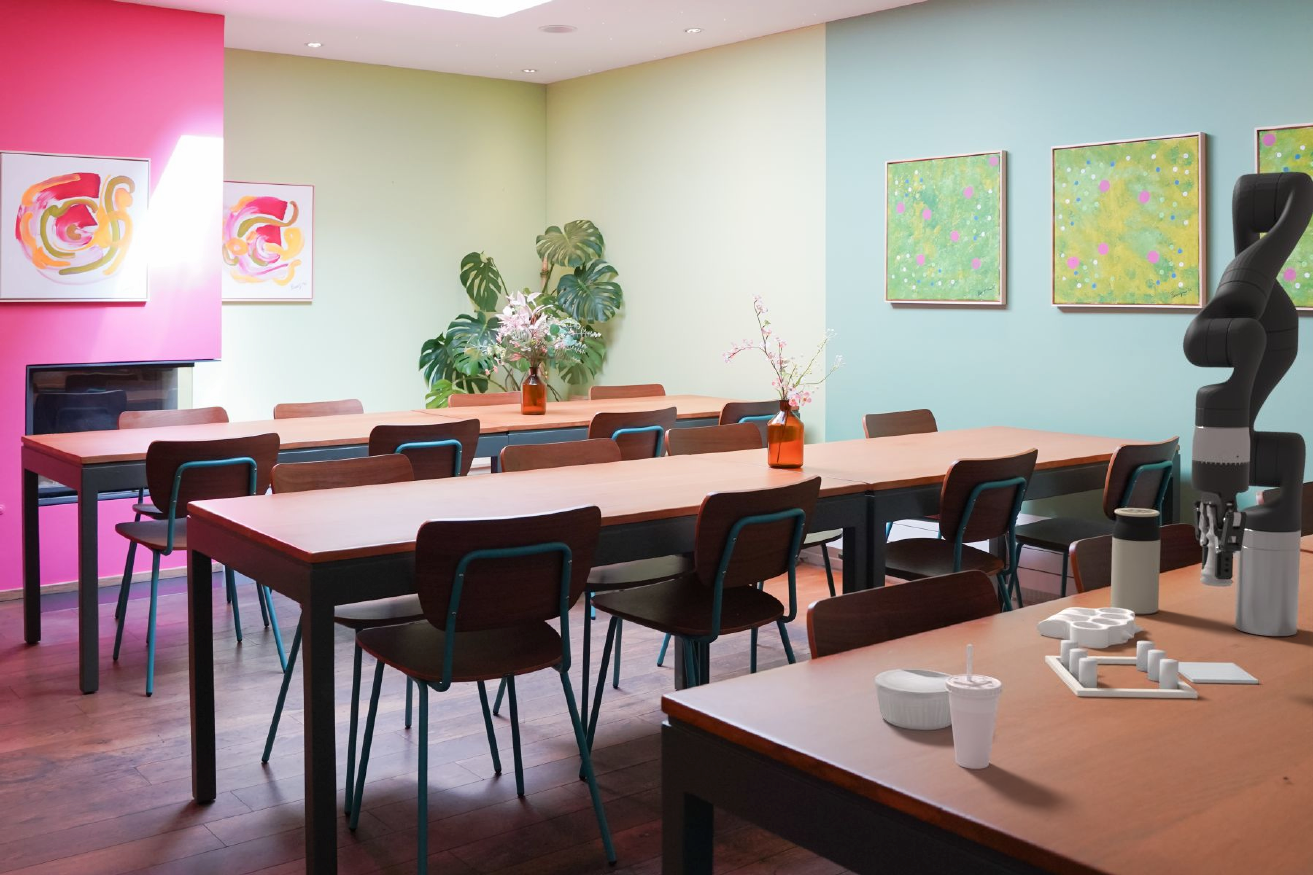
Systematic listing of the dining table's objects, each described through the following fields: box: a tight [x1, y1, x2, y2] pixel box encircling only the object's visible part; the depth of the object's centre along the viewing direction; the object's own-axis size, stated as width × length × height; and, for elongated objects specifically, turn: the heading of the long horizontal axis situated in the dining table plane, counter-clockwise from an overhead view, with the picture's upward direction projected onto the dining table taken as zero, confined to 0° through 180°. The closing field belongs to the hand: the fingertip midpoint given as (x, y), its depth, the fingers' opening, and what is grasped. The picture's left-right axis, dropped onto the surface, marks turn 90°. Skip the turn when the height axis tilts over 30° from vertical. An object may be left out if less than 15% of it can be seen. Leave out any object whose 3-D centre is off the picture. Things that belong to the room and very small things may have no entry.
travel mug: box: [1110, 507, 1162, 616], centre depth 215 cm, size 8×8×18 cm
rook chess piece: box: [1199, 528, 1234, 588], centre depth 173 cm, size 4×4×8 cm
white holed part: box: [1036, 606, 1145, 649], centre depth 198 cm, size 3×18×15 cm
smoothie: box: [945, 643, 1003, 770], centre depth 139 cm, size 6×6×14 cm
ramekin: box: [874, 668, 953, 731], centre depth 155 cm, size 11×11×5 cm
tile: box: [1178, 661, 1259, 685], centre depth 175 cm, size 9×9×1 cm
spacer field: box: [1044, 639, 1199, 699], centre depth 173 cm, size 18×16×4 cm
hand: (1216, 574), depth 174 cm, fingers closed on rook chess piece, 4 cm apart
